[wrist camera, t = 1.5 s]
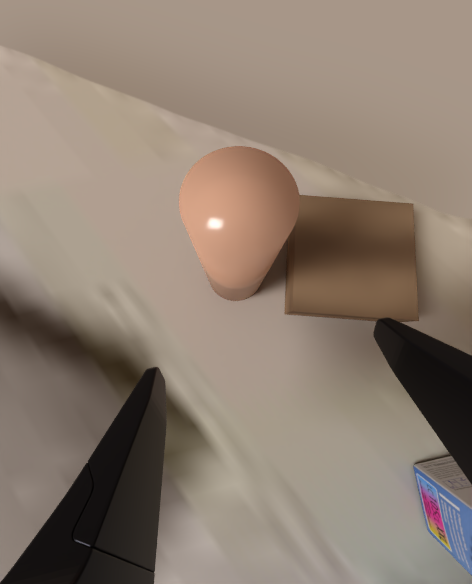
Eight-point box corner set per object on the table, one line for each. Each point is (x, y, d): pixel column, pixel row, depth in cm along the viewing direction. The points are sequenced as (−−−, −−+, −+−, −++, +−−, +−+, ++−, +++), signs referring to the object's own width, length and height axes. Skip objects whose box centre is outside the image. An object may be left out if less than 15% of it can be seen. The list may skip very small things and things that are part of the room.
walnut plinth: (394, 322, 23) (418, 320, 20) (284, 314, 23) (292, 311, 20) (390, 219, 24) (412, 203, 21) (288, 211, 24) (296, 194, 21)
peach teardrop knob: (229, 311, 23) (225, 282, 10) (198, 268, 23) (155, 186, 10) (273, 280, 23) (324, 213, 10) (241, 238, 24) (252, 126, 11)
